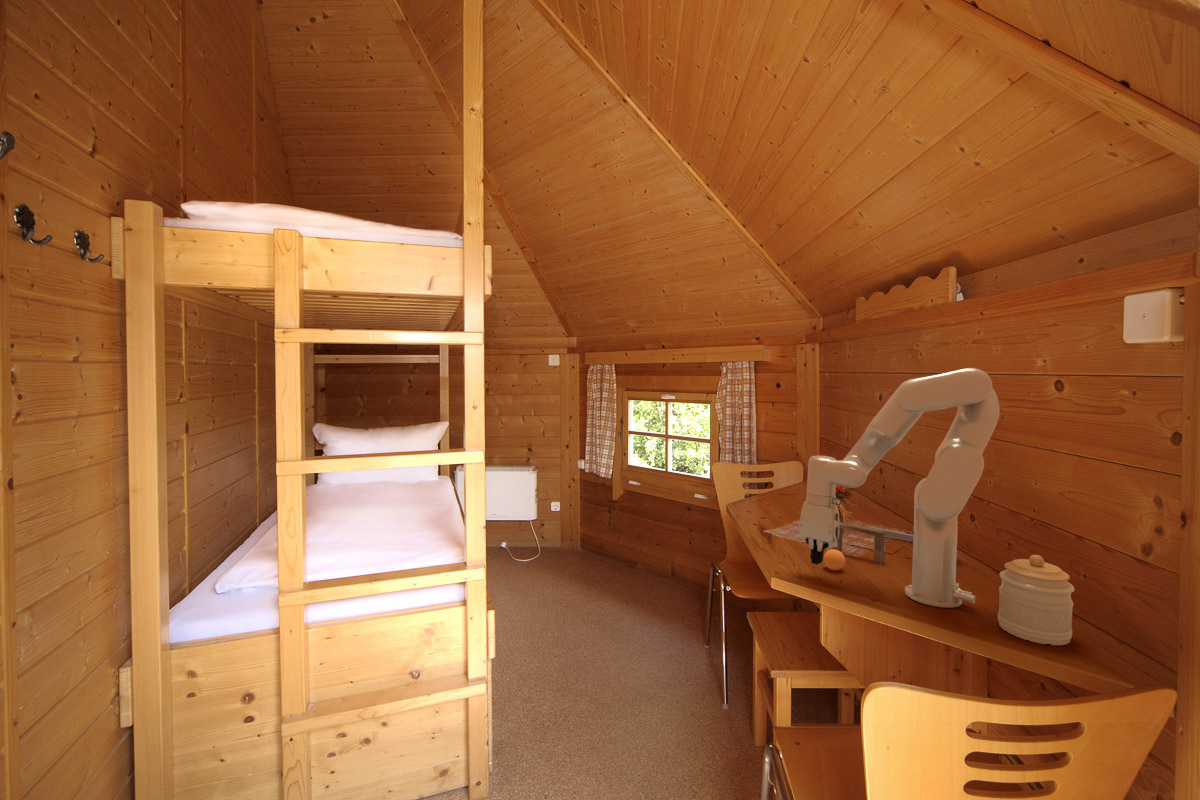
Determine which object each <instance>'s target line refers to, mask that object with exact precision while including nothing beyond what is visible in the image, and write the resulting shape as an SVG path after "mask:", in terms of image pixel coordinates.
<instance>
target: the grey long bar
mask: <svg viewBox="0 0 1200 800" xmlns="http://www.w3.org/2000/svg"><path fill="white" fill-rule="evenodd" d="M866 527H867V528H872V529H877V530H882V531H885V536H889V537H894V538H898V539H902V540H907V541H912V542H913V535H914V534H912V533H905V532H901V531H896V530H892V529H891V530H890V529H887V528H882V527H876V526H872V525H868V526H866Z"/></svg>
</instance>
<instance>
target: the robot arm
mask: <svg viewBox="0 0 1200 800" xmlns="http://www.w3.org/2000/svg"><path fill="white" fill-rule="evenodd" d="M955 407H957V411H956V415H955V417H954V419H953V421H952V423H951V425H950V426H949V427H950V428H949V429H948V431H947V433H946V435H945V437H944V438H943V440H942V442H941V443H940V445H939V447H938V448H937V450H936V451H935V454H934V455H935V456H934V462H933V465H932V466H931V469H930V471H929V472H928V474H927V476H926V477H924V478H922V479H921V480H920V481H919V482H918V483H917V484H916V486H915V488H914V493H913V494H914V495H913V510H914V512H913V534H912V535H913V543H912V544H913V545H912V567H911V568H912V572H911V584H909V585H906V586H905V587H904V594H905V595H906V596H907V597H908V598H909V597H910V598H909V599H911V600H913V601H916V602H917V603H921V604H922V605H923V604H924V605H928V606H932V607H937V608H945V609H948V608H949V609H950V608H951V609H952V608H958V607H960V606H961V605H963V601H964V602H967V603H970V604H975V603H976V595H975V594H974V595H973V592H970V591H967V590H966V591H965V590H962V588H960V583H958V582H956V580H957V579H956V578H957V577H956V575H957V554H958V553H957V552H958V550H957V549H958V548H957V547H958V531H959V530H958V528H959V526H958V520H959V519H958V516H959V515H960V514H961V512H962V510H963V509H964V507H965V506H966V504H967V502H968V501H969V498H970V497H971V495H972V493H973V491H974V489H975V488H976V486H977V484H978V483H979V481H980V479H981V476H982V474H983V472H984V469H985V460H984V456H983V454H984V451H985V449H986V447H987V446H988V444H989V441H990V439H991V437H992V435H993V433H994V431H995V429H996V426H997V424H998V422H999V418H1000V402H999V397H998V395H997V393H996V391H995V389H994V388H993V381H992V379H991V377H990V375H989V374H988V373H987V372H986V371H984V370H983V369H979V368H976V367H967V368H966V367H965V368H961V369H958V370H953V371H952V370H951V371H949V372H945V373H939V374H933V375H929V376H924V377H918V378H910V379H906V380H905V381H903V382H902V383H900V385H899V386H898V388H897V389H896V390H895V391H894V392H893V394H892V395H891V396H890V397H889V398H888V400H887V401H886V403H884V405H883V406H882V407H881V409H880V410H879V411H878V413H876V415H875V416H874V417H873V419H872V420H871V421H870V422H869V424H868V426H867V427H866V429H865V431H864V432H863V434H862V435H861V437H860V438H859V439H858V440H857V442H856V443H855V444H854V446H853V447H852V448H851V449H850V450H849V452H848V453H847V454H846V455H845V456H844V458H843V459H842V460H837V459H836V458H835V457H832V456H828V455H812V456H810V457H809V459H808V463H807V465H808V468H807V481H806V482H807V483H806V498H805V501H804V502H803V504H802V507H801V510H800V511H801V512H800V517H799V525H798V526H799V527H798V532H799V534H798V538H799V539H801V540H803V541H805V542H806V543H807V545H808V548H809V549H810V556H809V558H810V560H811V561H810V563H811V564H813V565H816V566H817V565H819V564H821V563H823V562H824V560H823V557H824V554H825V553H824V551H825V550H826V549H827V548H832V547H837V546H838V544H837V540H838V539H839V536H840V522H841V521H840V513H839V507H838V506H837V505H839V504H841V500H840V499H838V498H837V495H836V491H837V489H836V488H837V485H838V486H841V487H844V488H850V489H855V488H859V487H861V486H863V485H864V483H866V480H867V478H868V475H869V474H870V472H871V471H872V470H873V469H874V468H875V466H876V465H877V464H878V463H879V462H880V460H881V459H882V458H883V457H884V456H885V454H887V452H889V451H890V450H891V449H893V448H894V447H895V446H896V445H898V444H899V443H900V442H901V441H902V440H903V439H904V437H905V436H906V435H907V433H908V432H909V431H910V430H911V428H912V427H913V426H914V425H915V424H916V423H917V421H918V420H919V419H920V418H921V417H922V415H923V414H924V413H925V412H933V411H939V410H944V409H945V410H946V409H950V408H955Z"/></svg>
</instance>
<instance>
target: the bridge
mask: <svg viewBox="0 0 1200 800" xmlns="http://www.w3.org/2000/svg"><path fill="white" fill-rule="evenodd" d="M867 527H868V526H862V525H857V524H851V523H847V522H842V521H840V536H839V539H838V540H837V544H838V546H837V547H831V549H835V550H838V551H840V552H841V553H843V530H847V531H852V532H856V533H861V534H866V535H871V536H874V537H873V539H874V551H873V563H874V562H875V563H874V564H878V563H879V564H878V565H882V564H883V562H884V563H885V557H886V555H885V554H886V553H885V541H886V538H885V531H882V530H877V529H872V528H867ZM881 563H882V564H881Z"/></svg>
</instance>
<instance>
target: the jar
mask: <svg viewBox="0 0 1200 800" xmlns="http://www.w3.org/2000/svg"><path fill="white" fill-rule="evenodd" d="M1003 566H1004V568H1005V570H1002V571H1000V572H999V577H1000V578H1001V585H1000V586H998V591H999V598H998V603H999V605H998V612H997V620H998V625H999V627H1000V628H1001V629H1002V630H1003V631H1005V632H1006V631H1007V632H1006V633H1008V634H1010V635H1013V636H1015V637H1017V638H1019V639H1022V640H1025V641H1028V640H1029V642H1032V643H1036V644H1041V645H1046V644H1051V645H1050V646H1064V645H1067V644H1068V645H1069V644H1070V643H1071V640H1072V637H1073V628H1072V627H1073V626H1072V625H1073V624H1072V622H1073V606H1074V601H1073V600H1072V596H1071V595H1072V593H1073V592H1074V591H1075V586H1074V585H1072V583H1070V582H1069V580H1070V578H1071V576H1070V575H1069V574H1068V573H1067V572H1066V571H1064V570H1063V569H1062V568H1060V567H1058V566H1057V565H1054V564H1052V563H1049V562H1046V561H1045V559H1044V558H1043V557H1042V556H1041V555H1038V554H1032V555H1030V556H1029V558H1028V559H1026V558H1018V559H1013V560H1012V561H1008V562H1005V563H1004V565H1003Z"/></svg>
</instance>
